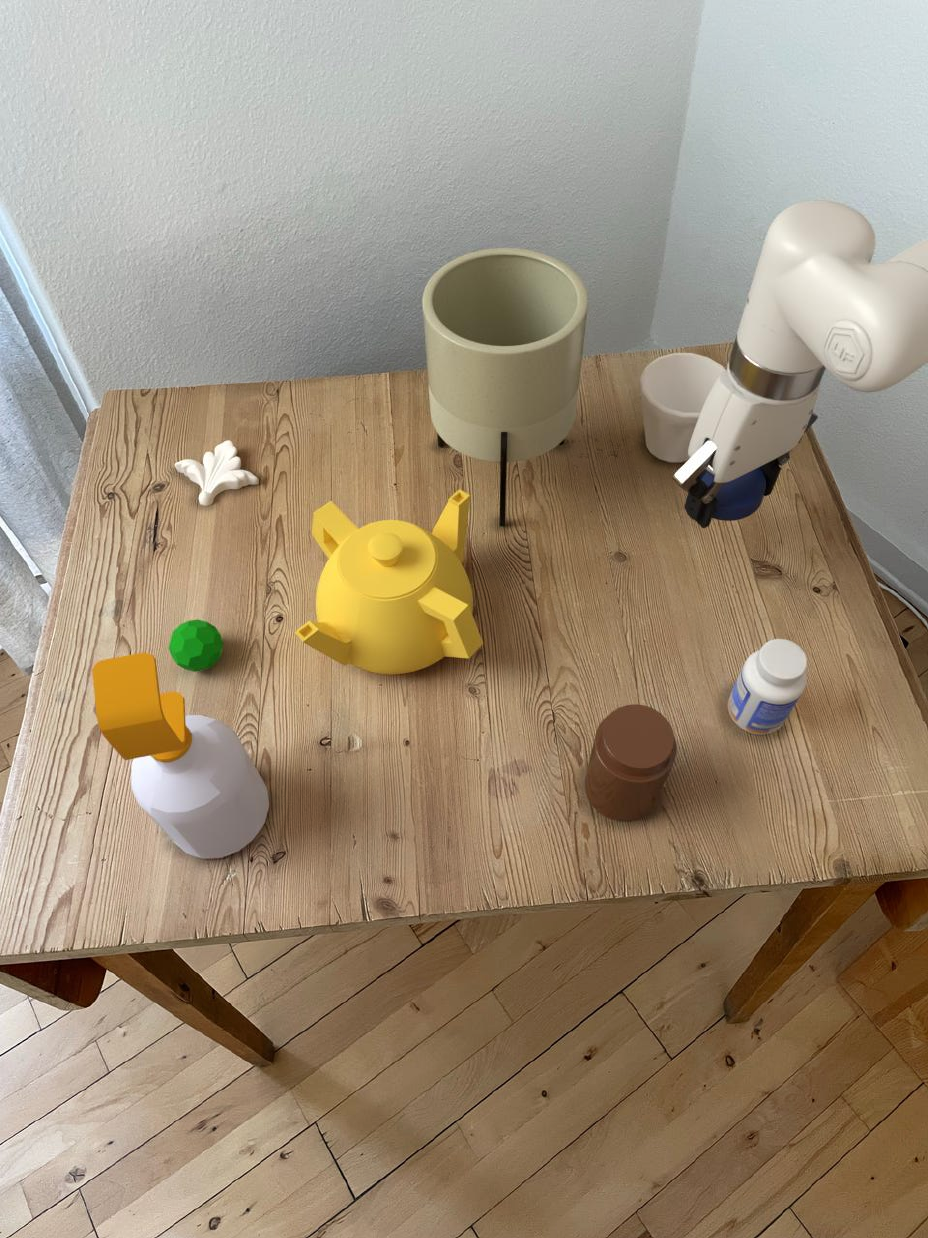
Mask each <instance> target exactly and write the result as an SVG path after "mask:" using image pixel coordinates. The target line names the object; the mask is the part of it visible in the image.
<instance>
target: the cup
mask: <svg viewBox="0 0 928 1238" xmlns="http://www.w3.org/2000/svg"><path fill="white" fill-rule="evenodd" d="M725 370H726V369H725V367H724V366H723V365H722V364H720V363H718V362H717V361H715V360H713V359H712V358H710V357H708V356H704V355H701V354H697V353H693V352H673V353H669V354H666V355H662V356H659V357H657V358H655V359H654V360H653V361H651V362H650V363H648V364H647V365H646V366H645V367H644V369H643V371H642V373H641V375H640V377H639V383H638V384H639V385H638V386H639V387H638V388H639V398H640V400H641V409H642V417H643V418H642V419H643V428H644V429H643V430H644V438H645V439H644V440H645V447H646V448H647V450H648V451H649V453H650V455H651V456H653V457H654V458H656V459H658V461H661V462H665V463H668V464H683V463H686V462H687V461H688V460H689V459H690V457H689V456H688V449H689V444H690V441H691V438H692V435H693V432H694V429H695V426H696V423H697V421H698V418H699V416H700V413H701V411H702V408H703V406H704V404H705V401H706V399H707V397H708V395H709V393H710V391H711V389H712V387H713V385H714V384H715V382H716V380H717V379H718V377H719V375H720V374H721V373H722V372H723V371H725Z"/></svg>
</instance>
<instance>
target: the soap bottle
mask: <svg viewBox="0 0 928 1238" xmlns="http://www.w3.org/2000/svg"><path fill="white" fill-rule="evenodd" d="M91 672H92V682H93V693H94V703H95V704H94V705H95V714H96V715H95V716H96V720H97V724H98V728H99V730H100V733H101V734H102V736H103V737H104V739H106V741H107V742H108V743H109V745H110V746H111V747H112V748H113V749H114V750H115V751H116V752H117V754H118V755H119V756H120V757H121V758H122V759H123V760H125V761H129V760H132V762H131V767H130V773H131V774H130V777H131V778H130V788H131V791H132V793H133V795H134V797H135V800H136V802H137V804H138V805H139V807H140V808H141V809H142V810H143V811H144V812H145V813H146V814H147V815H148V816H149V818H151V820H153V821H154V823H155V824H156V825H157V826H158V827H159V828H160V829H161V830H162V831H163V832H164V833H165V834H166V836H167V837H168V838H169V839H170V840H171V841H172V842H173V844H175V845H176V846H177V847H179V849H181V850H182V851H183V852H184V854H187V855H190V856H192V857H195V858H199V859H202V860H203V859H204V860H205V859H207V860H209V859H222V858H225V857H227V856H230V855H232V854H235V853H238V852H240V851H241V850H242V849H244V848H245V847H246V846H247V845H249V844H250V843H251V842H252V841H254V840H255V839H256V837H257V835H258V834H259V833H260V831H261V830H262V828H263V827H264V825H265V823H266V819H267V817H268V812H269V808H270V801H269V800H270V799H269V790H268V788H267V786H266V784H265V782H264V780H263V778H262V777H261V775H260V772H259V771H258V769H257V767H256V766H255V764H254V762H253V760H252V759H251V757H250V755H249V753H248V752H247V749H246V748H245V746H244V744H243V743H242V740H241V739H240V737H239V736H238V734H237V732H236V731H235V730H233V728H232V727H230V726H229V725H228V724H226V723H225V722H224V721H222V720H219V719H215V718H212V717H209V716H206V715H203V714H188V715H186V701H185V698H184V696H183V695H182V693H181V692H178V691H176V690H173V691H168V692H163V693H162V692H161V693H160V683H159V676H158V667H157V659H156V658H155V656H154V655H153V654H151V653H148V652H145V651H143V652H139V653H133V654H128V655H121V656H117V657H111V658H106V659H101V660H99V661H98V662H95V663H94V665H93V667H92V669H91Z"/></svg>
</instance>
